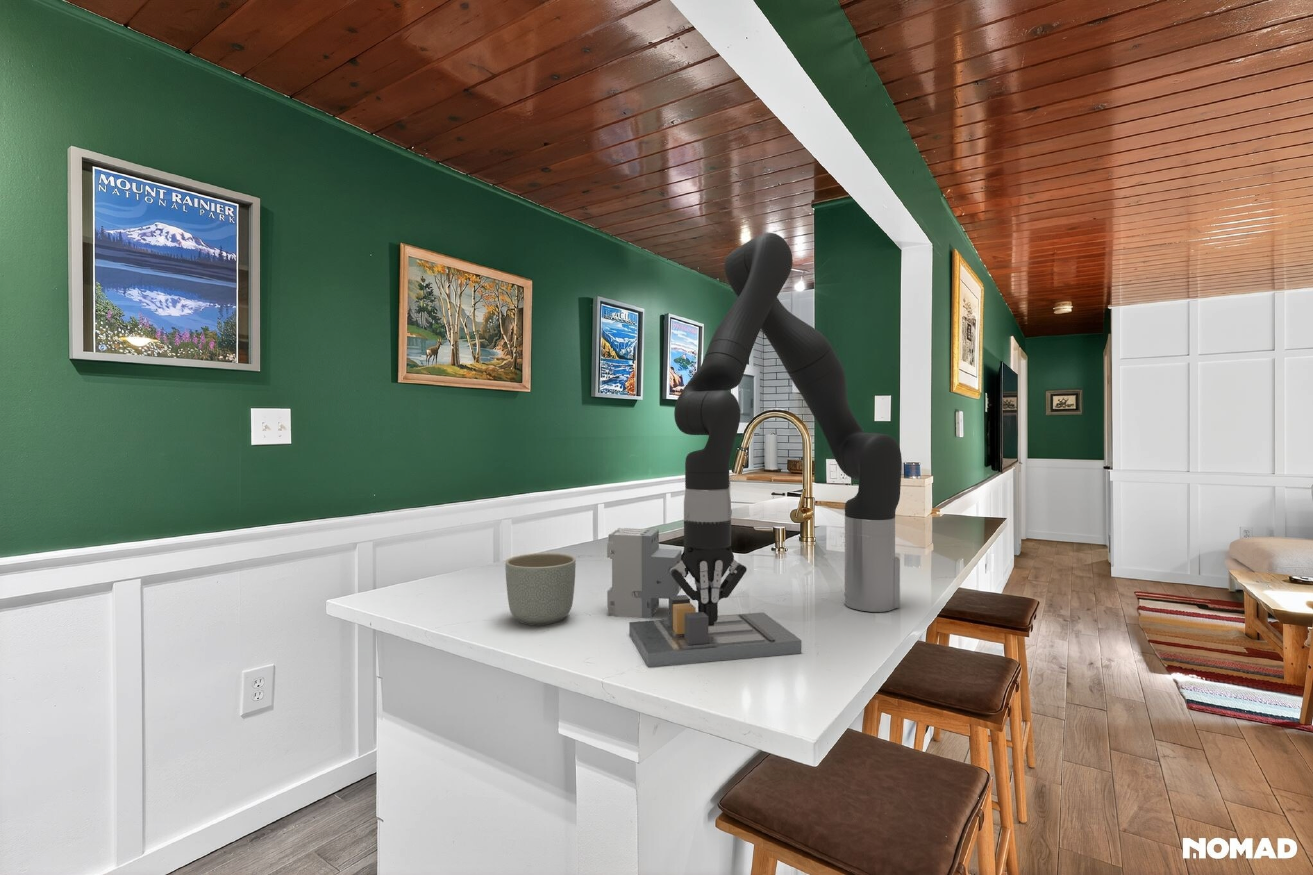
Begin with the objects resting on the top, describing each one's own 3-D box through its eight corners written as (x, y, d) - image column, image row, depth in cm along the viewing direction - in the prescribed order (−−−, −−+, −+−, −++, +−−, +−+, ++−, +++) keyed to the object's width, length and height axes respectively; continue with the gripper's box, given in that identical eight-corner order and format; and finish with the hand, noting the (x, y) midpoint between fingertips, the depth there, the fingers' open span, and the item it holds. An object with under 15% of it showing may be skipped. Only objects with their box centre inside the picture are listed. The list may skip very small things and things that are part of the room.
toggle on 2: (703, 637, 98) (703, 611, 98) (708, 643, 96) (708, 616, 96) (684, 639, 98) (684, 613, 98) (689, 644, 95) (689, 618, 95)
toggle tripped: (691, 627, 103) (690, 603, 103) (695, 632, 101) (695, 607, 101) (672, 629, 102) (672, 604, 102) (677, 634, 100) (677, 608, 100)
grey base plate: (763, 623, 113) (763, 611, 113) (801, 653, 98) (801, 639, 98) (629, 633, 107) (629, 620, 107) (648, 667, 93) (648, 651, 93)
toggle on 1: (685, 618, 108) (685, 594, 108) (690, 623, 106) (690, 599, 106) (668, 619, 108) (668, 596, 107) (672, 624, 105) (672, 600, 105)
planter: (588, 614, 118) (588, 556, 118) (550, 634, 107) (549, 570, 107) (533, 606, 124) (532, 550, 123) (491, 625, 112) (490, 563, 112)
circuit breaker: (684, 620, 115) (684, 537, 114) (607, 615, 118) (607, 534, 117) (690, 608, 122) (690, 530, 122) (618, 604, 125) (617, 527, 125)
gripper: (738, 511, 107) (738, 614, 107) (661, 514, 104) (662, 620, 104) (755, 518, 100) (755, 628, 100) (673, 521, 97) (673, 635, 97)
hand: (707, 624), depth 102 cm, fingers closed
